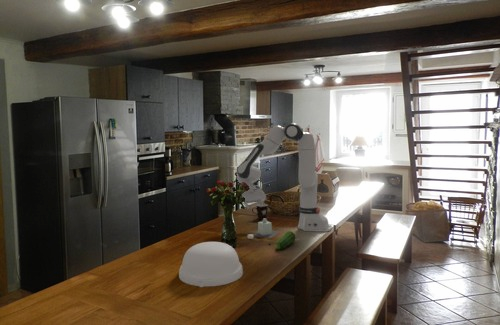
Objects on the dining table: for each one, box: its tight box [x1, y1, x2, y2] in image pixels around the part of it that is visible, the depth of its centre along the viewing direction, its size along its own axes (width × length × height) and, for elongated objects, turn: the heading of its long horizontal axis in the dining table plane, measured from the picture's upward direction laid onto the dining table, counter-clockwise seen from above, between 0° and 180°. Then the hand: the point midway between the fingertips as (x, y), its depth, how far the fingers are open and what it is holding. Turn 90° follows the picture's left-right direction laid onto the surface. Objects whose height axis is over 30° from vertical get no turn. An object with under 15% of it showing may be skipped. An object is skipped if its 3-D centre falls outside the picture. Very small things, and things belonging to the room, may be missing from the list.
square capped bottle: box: [257, 218, 273, 235], centre depth 249 cm, size 6×6×10 cm
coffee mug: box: [251, 203, 269, 221], centre depth 291 cm, size 12×9×10 cm
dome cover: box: [178, 241, 244, 288], centre depth 184 cm, size 32×30×14 cm
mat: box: [252, 230, 280, 239], centre depth 249 cm, size 14×16×1 cm
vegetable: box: [274, 231, 297, 251], centre depth 224 cm, size 7×7×20 cm
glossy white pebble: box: [247, 233, 254, 240], centre depth 240 cm, size 4×4×2 cm
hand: (255, 207), depth 259 cm, fingers open, 8 cm apart
